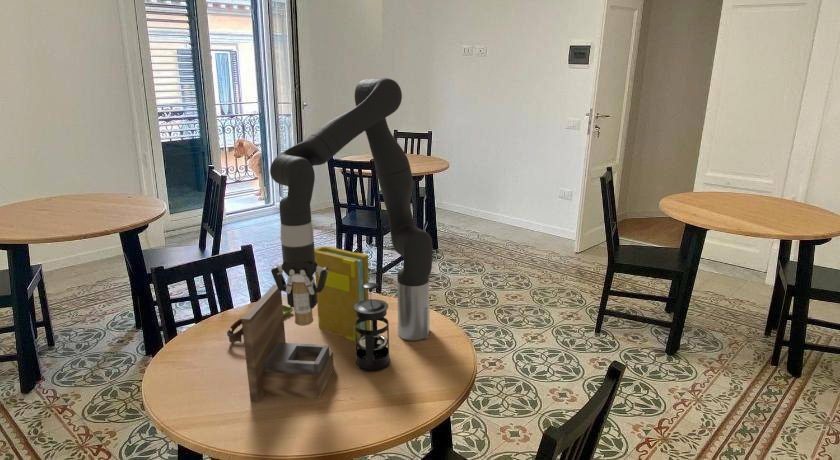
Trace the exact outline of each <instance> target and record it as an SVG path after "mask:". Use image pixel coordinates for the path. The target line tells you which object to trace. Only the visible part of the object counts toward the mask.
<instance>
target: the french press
mask: <svg viewBox="0 0 840 460" xmlns="http://www.w3.org/2000/svg"><path fill="white" fill-rule="evenodd" d="M379 286H380V285H379V284H378V283H376V282H368V283H365V284H364V285H363V286H362V287H363V288H364V289H368V293H369V299H367V300H363V301H360V302H358V303H356V304H355V306H354V310H355V311H356V316H357V317H358V318H359V319H358V320H356V322H355V341H354V342H355V365H356V368H358V370H360V371H362V372H366V373H376V372H380V371H383V370H385V369H387V368H388V367H389V366H390V363H391V359H390V337H389V336H390V331H389V330H390V329H389V323H390V322H389V320H388V319H387V318H386V316H387V310H388V309H389V304H388V302H386V301H385V300H383V299H382V300H381V299H376V298H372V293H373V290H374V289H375V290H376V289H378V288H379ZM367 320H370V328H371V331H368V330H362V329H360V328H358V327H357V325H358V324H359V323H361V322H363V321H367ZM378 321H380V322H383V323H384V324H386V326H384V327H382V328H379V329H378ZM357 332H358V333H360V334H361V335H362V336H361V337H360V338H359V339H358V340H357ZM383 333H386V334H387V337H386V336H384V335H382V334H383ZM375 356H379V357H381V358H378V359H374V358H375ZM364 358H365V359H364Z"/></svg>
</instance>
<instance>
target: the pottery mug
mask: <svg viewBox="0 0 840 460" xmlns="http://www.w3.org/2000/svg"><path fill="white" fill-rule="evenodd" d="M242 318H243V317H242ZM242 318H241V317H240V318H239V319H238V320H237V321H235V322H234V323H232V324H231V325H230V329H227V330H228V331H227V332H226V334H227V335H226V336H227V337H228V340H229V343H237V342H239V343H242V342H243V340H242V336H243V328H242V327H241V328H239V330H238V331H236V330H237V328H238V327H240V326H241V325H242ZM235 331H236V332H235Z"/></svg>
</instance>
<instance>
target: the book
mask: <svg viewBox="0 0 840 460" xmlns="http://www.w3.org/2000/svg"><path fill="white" fill-rule="evenodd" d="M314 249H315V261H316V263H317V265H318V266H320V267H323V268H324V267H328V268H329V270H328V274H327V278H326V282H325V286H324V288H323V290H322V291H321V292H320V293H319V292H318V293H317V301H318V302H317V304H316V306H317V317H318V318H317V322H318V328H319V329H320V330H322V331H325V332H329V333H332V334H335V335H338V336H341V337H344V338H346V339H347V340H350V341H352V342H355V322H356V320H358V319H359V318H358V317H357V316H356V311H355V310H354V306H355V304H356V303H358V302H360V301H363V300H367V299H370V294H369V289H364V288H363V287H362V286H363V285H364V284H365V283H369V254H365V253H361V252H353V251H349V250H344V249H341V248H338V247H337V248H336V247H332V246H327V245H326V246H319V247H316V248H315V247H314ZM314 275H315V276H314V277H315V284H316V286H318V282H319V278H320V276H318V272H317V271H315V272H314ZM357 327H358V328H360V329H362V330H368V331H371V320H367V321H363V322H361V323H359V324H358V325H357ZM361 335H362V334H360V333H358V332H357V340H358V339H359V338H360V337H362V336H361Z"/></svg>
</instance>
